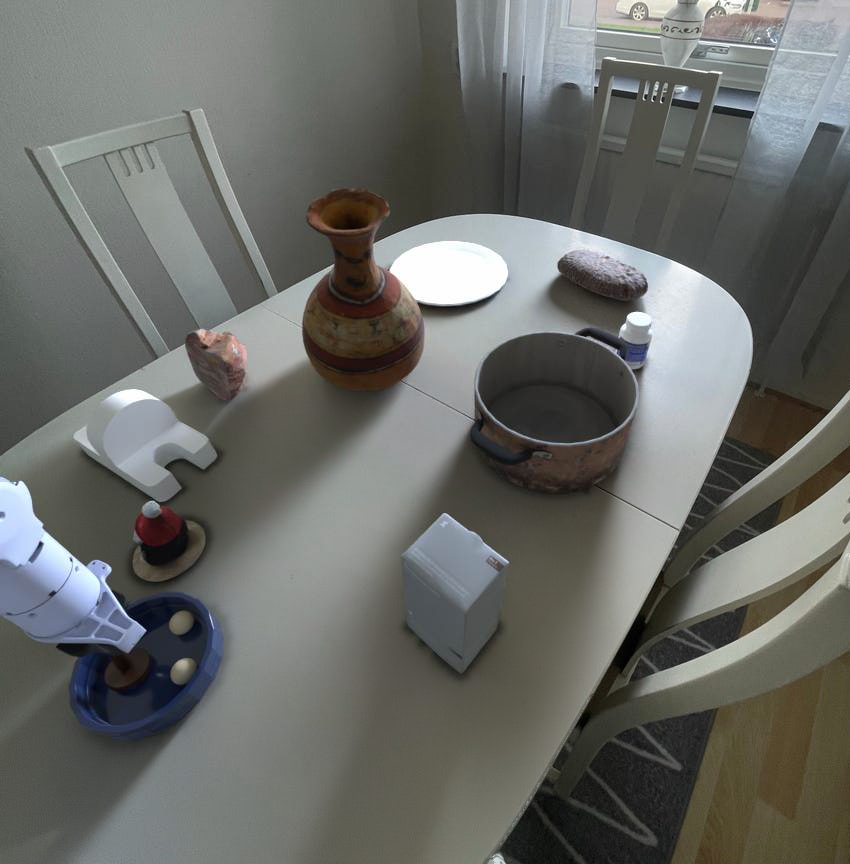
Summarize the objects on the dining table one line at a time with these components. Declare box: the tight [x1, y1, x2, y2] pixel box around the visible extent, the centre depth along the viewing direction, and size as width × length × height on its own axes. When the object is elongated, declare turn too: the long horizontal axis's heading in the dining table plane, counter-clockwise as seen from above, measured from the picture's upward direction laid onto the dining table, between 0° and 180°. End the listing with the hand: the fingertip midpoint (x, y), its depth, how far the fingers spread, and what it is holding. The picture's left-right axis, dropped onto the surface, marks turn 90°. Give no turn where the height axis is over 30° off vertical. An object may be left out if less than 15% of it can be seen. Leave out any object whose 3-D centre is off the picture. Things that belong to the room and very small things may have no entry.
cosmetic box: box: [400, 513, 510, 674], centre depth 52 cm, size 8×7×16 cm
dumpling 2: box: [170, 658, 197, 685], centre depth 53 cm, size 2×2×2 cm
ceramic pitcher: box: [301, 187, 425, 392], centre depth 79 cm, size 20×20×30 cm
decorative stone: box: [556, 249, 649, 301], centre depth 105 cm, size 20×14×5 cm
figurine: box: [132, 500, 206, 583], centre depth 62 cm, size 8×10×12 cm
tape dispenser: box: [73, 389, 218, 503], centre depth 72 cm, size 10×18×11 cm, turn 60°
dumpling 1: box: [169, 611, 194, 635], centre depth 57 cm, size 2×2×2 cm
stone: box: [184, 328, 248, 402], centre depth 83 cm, size 13×8×10 cm
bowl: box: [68, 591, 224, 742], centre depth 54 cm, size 13×13×4 cm
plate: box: [389, 240, 509, 308], centre depth 109 cm, size 25×25×1 cm
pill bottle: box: [614, 311, 653, 370], centre depth 87 cm, size 5×5×9 cm
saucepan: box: [469, 326, 640, 494], centre depth 74 cm, size 30×22×11 cm
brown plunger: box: [104, 648, 152, 692], centre depth 51 cm, size 4×4×10 cm
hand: (115, 642), depth 51 cm, fingers closed on brown plunger
